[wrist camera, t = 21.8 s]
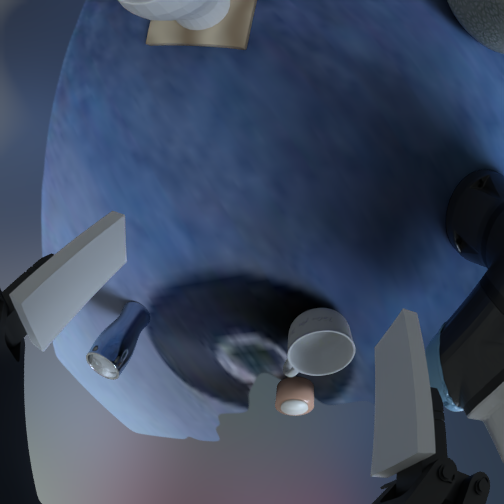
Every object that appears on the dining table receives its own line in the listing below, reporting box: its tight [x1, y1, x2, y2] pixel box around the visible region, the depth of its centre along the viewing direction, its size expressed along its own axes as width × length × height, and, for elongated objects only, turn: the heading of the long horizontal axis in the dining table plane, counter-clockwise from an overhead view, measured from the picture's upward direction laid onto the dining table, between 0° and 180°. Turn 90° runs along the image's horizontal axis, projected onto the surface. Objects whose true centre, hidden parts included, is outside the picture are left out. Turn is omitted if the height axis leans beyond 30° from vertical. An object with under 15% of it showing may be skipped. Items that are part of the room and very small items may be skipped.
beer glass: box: [86, 301, 150, 380], centre depth 48 cm, size 7×7×15 cm
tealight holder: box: [275, 377, 314, 416], centre depth 56 cm, size 8×8×6 cm
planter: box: [447, 0, 504, 54], centre depth 14 cm, size 17×17×15 cm
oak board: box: [146, 0, 257, 50], centre depth 29 cm, size 14×12×2 cm
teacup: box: [283, 308, 355, 377], centre depth 47 cm, size 14×11×8 cm
